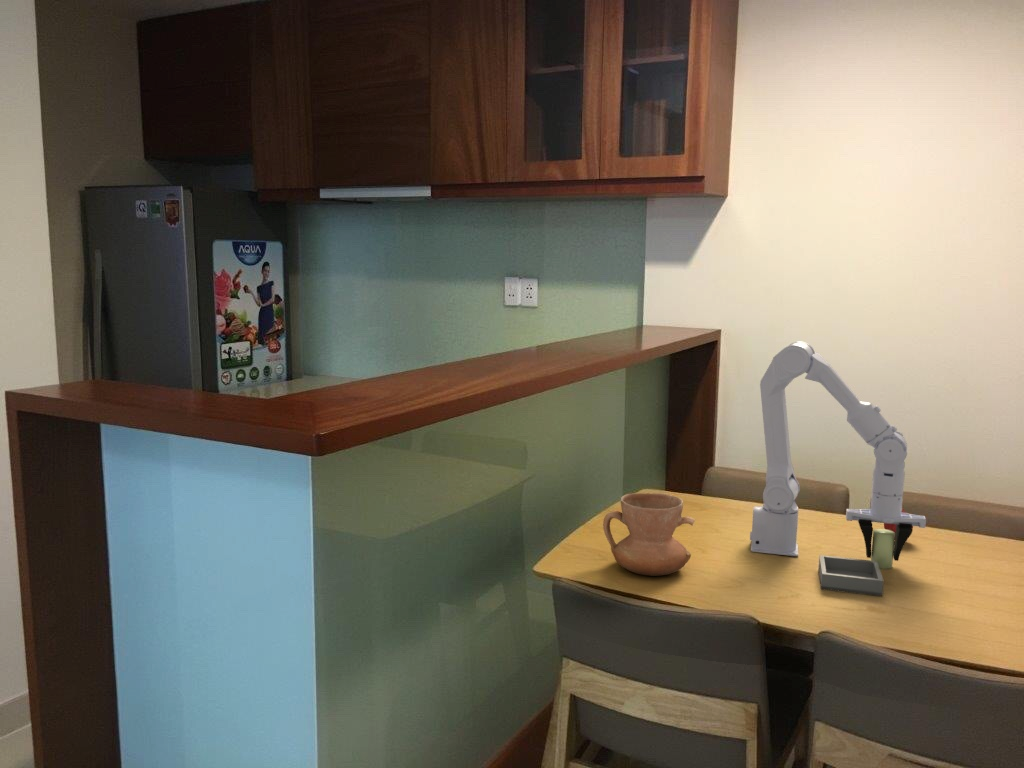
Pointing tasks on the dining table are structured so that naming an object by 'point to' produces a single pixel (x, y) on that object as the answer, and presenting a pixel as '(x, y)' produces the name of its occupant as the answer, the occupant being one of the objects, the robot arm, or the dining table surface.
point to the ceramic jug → (649, 534)
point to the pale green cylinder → (883, 548)
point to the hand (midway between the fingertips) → (882, 557)
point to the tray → (850, 575)
